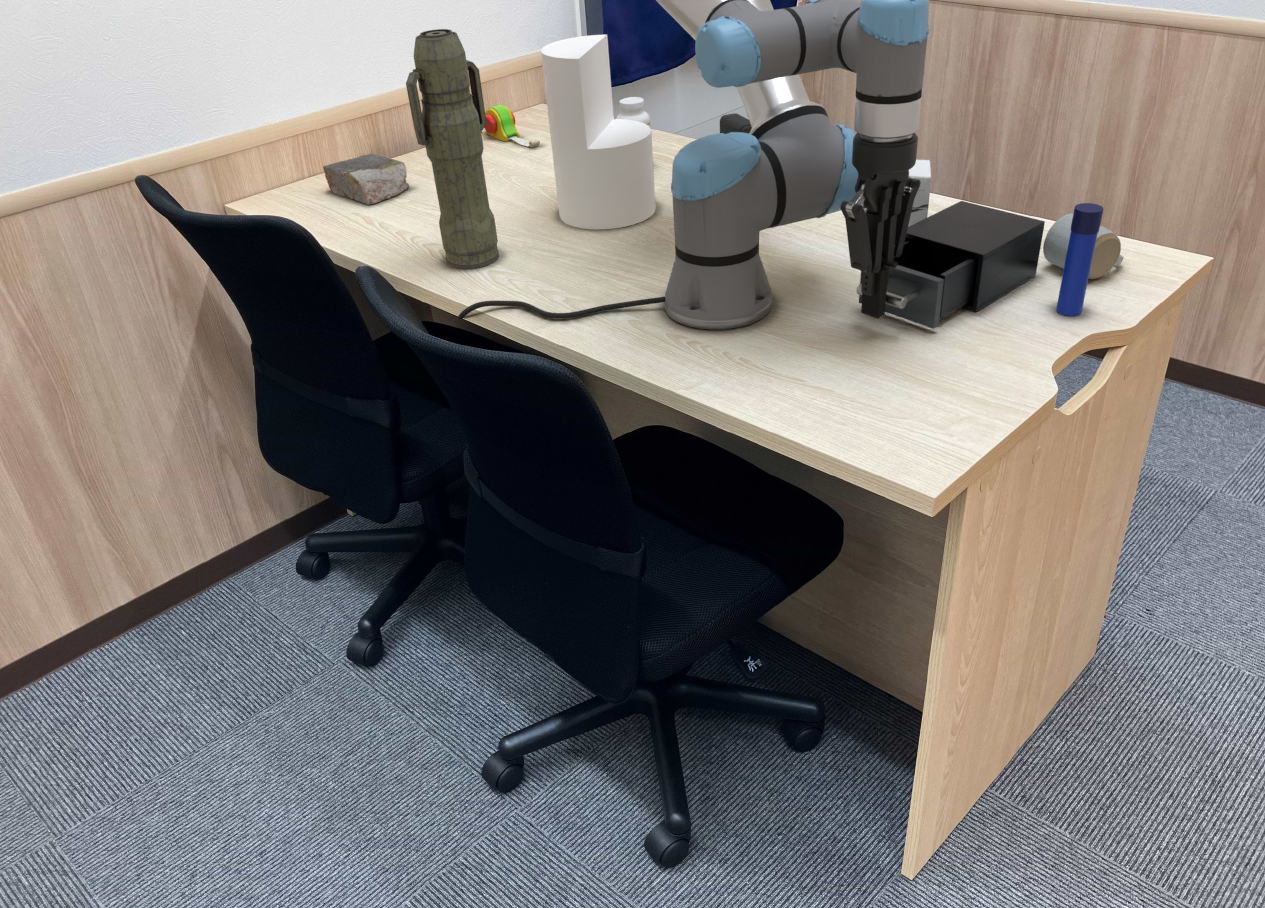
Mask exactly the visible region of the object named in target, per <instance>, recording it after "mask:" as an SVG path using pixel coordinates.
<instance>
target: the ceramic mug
mask: <svg viewBox="0 0 1265 908" xmlns="http://www.w3.org/2000/svg"><path fill="white" fill-rule="evenodd" d="M1073 213H1074V212H1071V213H1067V214H1064V215H1063V216H1061V217H1059V218H1058V219H1057V220H1056V221H1055V222H1054V223H1053V224H1052V225H1051V227H1050V228H1049V229H1048V231H1047V233H1046V236H1045V238H1044V240H1043V246H1042V248H1043V249H1042V253H1043V257H1044V259H1045V260H1046V261H1047V262H1048V263H1050V264H1052V265H1054V266H1056V267H1059V268H1060V269H1063V270H1064V265H1065V260H1066V255H1067V249H1068V244H1069V239H1070V233H1071V224H1072V218H1073ZM1121 249H1122V243H1121V240H1120V238H1119V237H1118V235H1117V234H1116V233H1114V232H1113V231H1111V230H1110V229H1109V228H1107V227H1104V226H1103V225H1100V229H1099V232H1098V234H1097V239H1096V244H1095V249H1094V254H1093V259H1092V264H1091V268H1090V273H1089V278H1088V280H1097V279H1099V278H1102V277H1103V276H1105V275H1106V274H1108V273H1109V272H1110V271H1111V270H1112V269H1113V268H1114V267H1117V268H1119V267H1120V266H1121V265H1122V262H1123V260H1124V259H1125V257H1124V256H1123V255H1122V254H1121V251H1122V250H1121Z"/></svg>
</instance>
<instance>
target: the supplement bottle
mask: <svg viewBox="0 0 1265 908" xmlns="http://www.w3.org/2000/svg"><path fill="white" fill-rule="evenodd" d="M644 108H645V100H644V98H643V97H639V96H630V97H629V96H628V97H625V98H621V99H620V100H619V109H620V112H619V113H618V114H617V116H616V118H615V119H626V120H633V121H638V122H642V123H644V124H646V125H648V126H649V127H650V128H651V117H650V114H649V113H648V112H647V111H645V110H644Z"/></svg>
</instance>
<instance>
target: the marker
mask: <svg viewBox="0 0 1265 908" xmlns="http://www.w3.org/2000/svg"><path fill="white" fill-rule="evenodd" d="M1072 213H1073V218H1072V224H1071V233H1070V239H1069V244H1068V249H1067V255H1066V260H1065V265H1064V269H1063V271H1062V277H1061V282H1060V287H1059V292H1058V296H1057V297H1058V298H1057V302H1056V309H1055V311H1056V312H1057V313H1058V314H1059V315H1062V316H1067V317H1076V316H1077V317H1078V316H1079V315H1081V314H1082V312H1083V307H1084V301H1085V297H1086V292H1087V288H1088V283H1089V279H1088V278H1089V273H1090V268H1091V264H1092V259H1093V254H1094V249H1095V244H1096V239H1097V234H1098V232H1099V229H1100V226H1101V223H1102V218H1103V213H1104V207H1103V206H1102V205H1100V204H1097V203H1091V202H1083V203H1082V202H1081V203H1078V204H1075V205H1074V208H1073V212H1072Z"/></svg>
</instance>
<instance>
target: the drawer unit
mask: <svg viewBox="0 0 1265 908" xmlns="http://www.w3.org/2000/svg"><path fill="white" fill-rule="evenodd" d="M1045 223H1046V221H1045V220H1041V219H1037V218H1033V217H1029V216H1025V215H1022V214H1021V215H1020V214H1017V213H1013V212H1010V211H1009V212H1008V211H1004V210H1001V209H996V208H993V207H988V206H984V205H980V204H976V203H972V202H968V201H964V200H960V201H958V202H956V203H954V204H953V205H950V206H948V207H946V208H944V209H942V210H940V211H938V212H936V213H934V214H931V215H930V216H929V215H928V216H927V218H925V219H923V220H921V221H919V222H917V223H915V224H913V225H911V226H909V227H908V229H907V234H906V238H905V240H907V239H913V240H916V241H920V242H923V243H927V244H930V245H934V246H937V247H941V248H944V249H948V250H951V251H955V252H958V253H962V254H965V255H969V256H972V257H976V258H979V261H978V268H977V276H976V283H975V290H974V298H973V301H971V302H969V303H968V304H966V305H964V306H963V307H961V308H960V309H964V310H967V311H970V312H973V313H977V312H979V311H981V310H982V309H985V308H986V307H987V306H989V305H991V304H993V303H995V302H996V301H998V300H999V299H1001V298H1002V297H1004V296H1006V295H1007V294H1009V293H1011V292H1012V291H1014V290H1015V289H1017V288H1019V287H1021V286H1022V285H1024V284H1026V283H1028V282H1029V281H1030V280H1032V279H1034V278H1036V277H1037V269H1038V265H1039V260H1040V259H1039V258H1040V253H1041V246H1042V241H1043V236H1044V235H1043V234H1044V230H1045Z"/></svg>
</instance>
